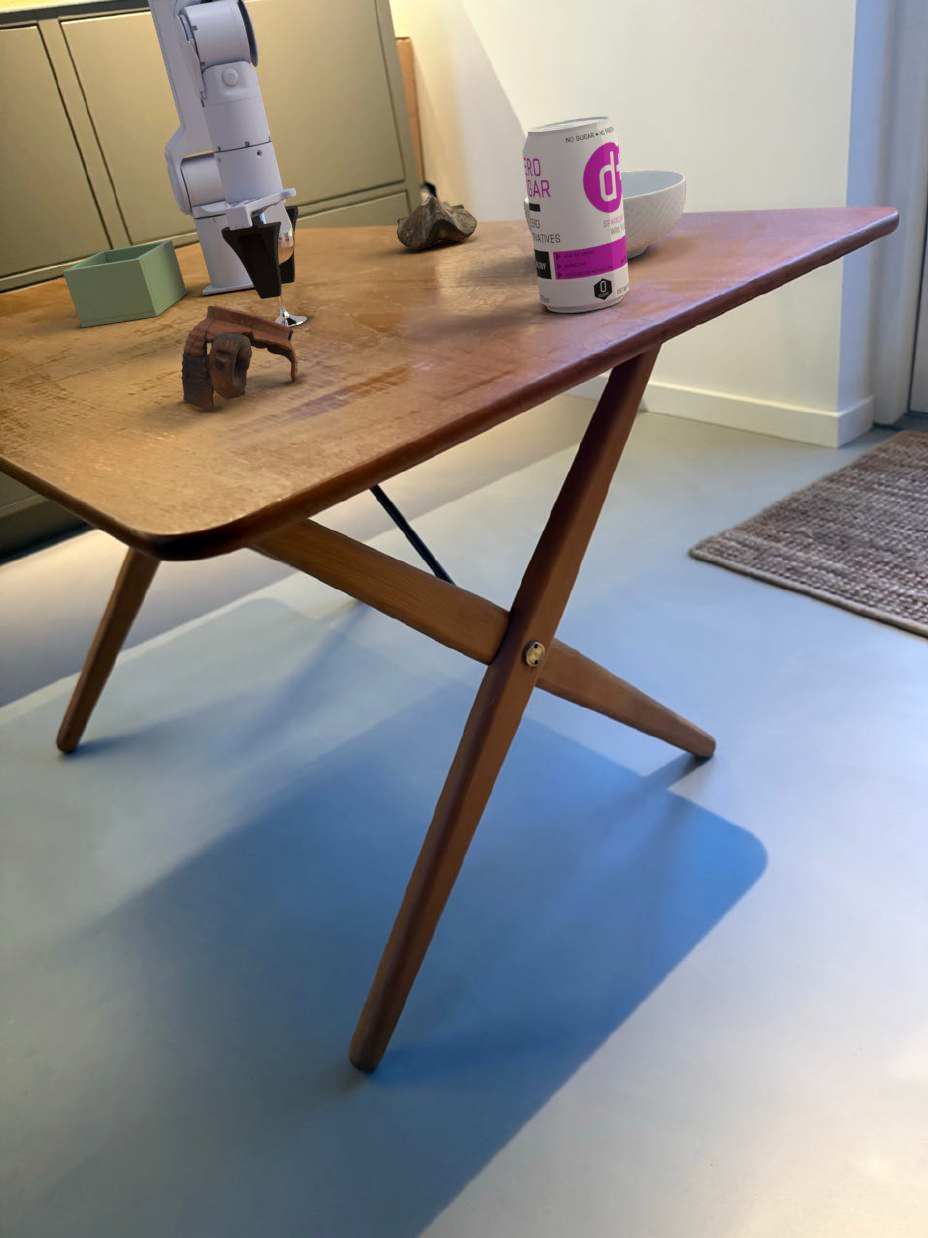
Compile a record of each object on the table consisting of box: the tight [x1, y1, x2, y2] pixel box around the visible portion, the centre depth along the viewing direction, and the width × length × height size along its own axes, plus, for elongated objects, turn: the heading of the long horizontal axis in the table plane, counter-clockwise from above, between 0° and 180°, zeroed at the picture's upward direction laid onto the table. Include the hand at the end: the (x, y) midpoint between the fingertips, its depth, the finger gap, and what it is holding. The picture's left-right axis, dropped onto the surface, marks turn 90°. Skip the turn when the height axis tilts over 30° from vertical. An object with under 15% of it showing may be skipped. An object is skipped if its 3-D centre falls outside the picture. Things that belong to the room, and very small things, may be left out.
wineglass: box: [253, 201, 308, 328], centre depth 102 cm, size 6×6×12 cm
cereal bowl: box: [523, 169, 687, 260], centre depth 107 cm, size 17×17×7 cm
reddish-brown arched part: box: [180, 305, 299, 411], centre depth 83 cm, size 12×10×8 cm
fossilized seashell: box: [396, 194, 478, 250], centre depth 129 cm, size 8×7×10 cm
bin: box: [62, 239, 188, 328], centre depth 123 cm, size 12×10×7 cm
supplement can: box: [522, 115, 630, 314], centre depth 89 cm, size 8×8×15 cm
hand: (278, 290), depth 104 cm, fingers closed on wineglass, 5 cm apart
